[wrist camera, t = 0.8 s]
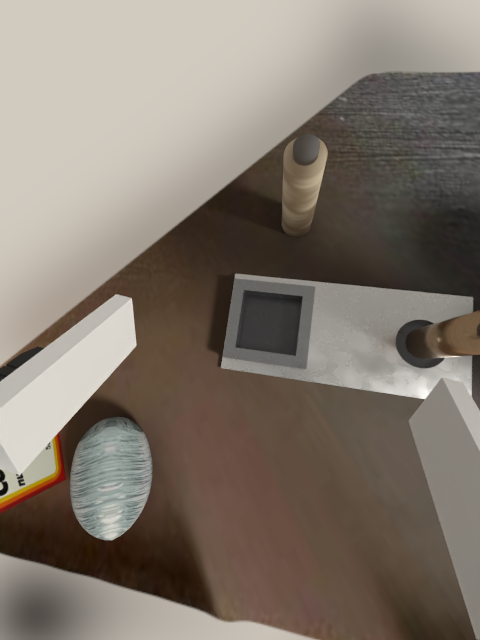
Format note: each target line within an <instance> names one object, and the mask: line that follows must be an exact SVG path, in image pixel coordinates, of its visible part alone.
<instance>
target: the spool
mask: <svg viewBox="0 0 480 640" xmlns="http://www.w3.org/2000/svg"><path fill="white" fill-rule="evenodd" d="M151 481H152V457H151V452H150V448H149V443H148V440H147V438H146V436H145V434H144V432H143V430H142V429H141V427H139V426H138V425H137V424H136V423H135V422H133V421H132V420H130V419H127V418H124V417H111V418H107V419H104V420H102V421H100V422H98V423H97V424H95V425H94V426H92V427H91V428H90V429H89V430H88V431H87V432H86V433H85V435H84V436H83V437H82V439H81V440H80V442H79V444H78V446H77V448H76V451H75V454H74V458H73V462H72V467H71V473H70V496H71V501H72V507H73V510H74V513H75V515H76V518H77V520H78V521H79V523H80V524H81V525H82V527H83V528H84V529H85V530H86V531H87V532H88V533H90V534H91V535H92V536H94V537H96V538H99V539H103V540H113V539H115V538H117V537H119V536H121V535H122V534H123V533H124V532H126V531H127V530H128V529H129V528H130V527H131V526H132V524H133V523H134V522H135V521H136V519H137V518H138V517H139V515H140V513H141V512H142V510H143V508H144V506H145V504H146V501H147V498H148V496H149V493H150V488H151Z"/></svg>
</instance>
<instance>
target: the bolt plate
mask: <svg viewBox="0 0 480 640" xmlns="http://www.w3.org/2000/svg"><path fill="white" fill-rule="evenodd" d="M472 355H480V310H479V311H476V312H473V297H467V296H457V295H446V294H436V293H426V292H416V291H406V290H396V289H386V288H376V287H366V286H356V285H346V284H335V283H325V282H315V281H305V280H295V279H285V278H275V277H265V276H255V275H245V274H235V280H234V286H233V292H232V299H231V305H230V312H229V318H228V325H227V331H226V337H225V344H224V350H223V357H222V363H221V368H225V369H231V370H238V371H244V372H251V373H257V374H264V375H270V376H277V377H284V378H290V379H297V380H303V381H310V382H316V383H323V384H330V385H336V386H343V387H349V388H356V389H362V390H369V391H375V392H382V393H389V394H395V395H402V396H408V397H415V398H421V399H426V397H427V396H428V395H429V394H430V392H431V391H432V390H433V388H434V387H435V386H436V384H437V383H438V382H439V380H440V379H441V378H442V377H444V378H448V379H452V380H456V381H459V382H463V383H464V385H465V387H466V388H467V390H468V392H469V393H470V395H472Z"/></svg>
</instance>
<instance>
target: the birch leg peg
mask: <svg viewBox="0 0 480 640" xmlns="http://www.w3.org/2000/svg"><path fill="white" fill-rule="evenodd" d="M326 159H327V148H326V146H325V144H324V143H323V142H322V141H321V140H320V139H318V138H317V137H316V136H314V135H312V134H303V135H301V136H299V137H298V138H296V139H294V140H292V141H291V142H290V143H289V144H288V145H287V147H286V149H285V151H284V166H283V199H282V228H283V230H284V232H285V233H286V234H287V235H289V236H291V237H301V236H303V235H305V234H306V233H307V232H308V231H309V230H310V227H311V224H312V219H313V215H314V211H315V206H316V202H317V198H318V194H319V189H320V185H321V181H322V176H323V172H324V168H325V164H326Z"/></svg>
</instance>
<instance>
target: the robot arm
mask: <svg viewBox="0 0 480 640" xmlns="http://www.w3.org/2000/svg"><path fill="white" fill-rule="evenodd" d="M135 347H136V336H135V326H134V315H133V305H132V298H129V297H125V296H121V295H117V294H116V295H115V296H113V297H112V298H111V299H109V300H108V301H107V302H105V303H104V304H103V305H101V306H100V307H99V308H97V309H96V310H95V311H93V312H92V313H91V314H89V315H88V316H87V317H85V318H84V319H83V320H81V321H80V322H79V323H77V324H76V325H75V326H73V327H72V328H71V329H69V330H68V331H67V332H65V333H64V334H63V335H61V336H60V337H59V338H57V339H56V340H55V341H53V342H52V343H51V344H49V345H48V346H47V347H46V348H41V347H36V348H34V349H31V350H29V351H27V352H24V353H22V354H20V355H19V356H17V357H16V358H14V359H13V360H12V361H10V362H9V363H7V365H6V366H3V367H2V368H0V468H1V469H4V470H7V471H9V472H12V473H15V474H18V475H21V474H22V472H23V471H24V470H25V469H26V468H27V467H28V466H29V465H30V464H31V462H32V461H33V460H34V459H35V458H36V457H37V456H38V455H39V454H40V452H41V451H42V450H43V449H44V448H45V447H46V446H47V445H48V444H49V442H50V441H51V440H52V439H53V438H54V437H55V436H56V435H57V434H58V432H59V431H60V430H61V429H62V428H63V427H64V426H65V425H66V423H67V422H68V421H69V420H70V419H71V418H72V417H73V416H74V415H75V413H76V412H77V411H78V410H79V409H80V408H81V407H82V406H83V405H84V403H85V402H86V401H87V400H88V399H89V398H90V397H91V396H92V395H93V393H94V392H95V391H96V390H97V389H98V388H99V387H100V386H101V385H102V383H103V382H104V381H105V380H106V379H107V378H108V377H109V376H110V375H111V373H112V372H113V371H114V370H115V369H116V368H117V367H118V366H119V365H120V363H121V362H122V361H123V360H124V359H125V358H126V357H127V356H128V355H129V353H130V352H131V351H132V350H133V349H134V348H135ZM409 424H410V427H411V430H412V433H413V437H414V440H415V443H416V446H417V450H418V453H419V456H420V459H421V462H422V466H423V469H424V472H425V475H426V479H427V482H428V485H429V488H430V491H431V495H432V498H433V501H434V504H435V508H436V511H437V514H438V517H439V520H440V524H441V527H442V530H443V533H444V537H445V540H446V543H447V546H448V549H449V553H450V556H451V559H452V562H453V566H454V569H455V572H456V575H457V578H458V582H459V585H460V588H461V591H462V595H463V598H464V601H465V604H466V607H467V611H468V614H469V617H470V620H471V624H472V627H473V630H474V633H475V636H476V639H478V640H480V411H479V409H478V407H477V405H476V404H475V402H474V400H473V399H472V397H471V395H470V393H469V392H468V390H467V388H466V387H465V385H464V383H463V382H459V381H456V380H452V379H448V378H444V377H442V378H441V379H440V380H439V382H438V383H437V384H436V386H435V387H434V388H433V390H432V391H431V392H430V394H429V395H428V396H427V397H426V399H425V400H424V401H423V403H422V404H421V405H420V407H419V408H418V409H417V411H416V412H415V413H414V414H413V416H412V417H411V418H410V420H409Z"/></svg>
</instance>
